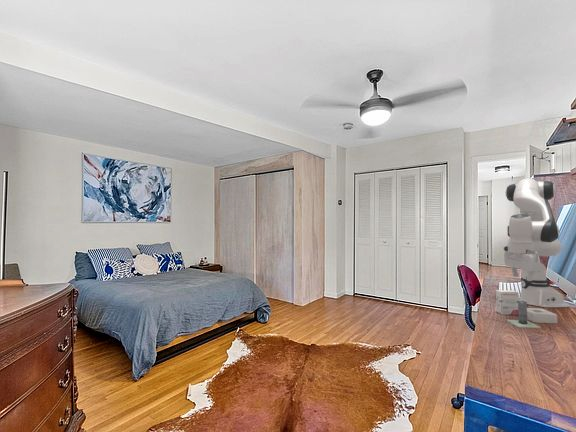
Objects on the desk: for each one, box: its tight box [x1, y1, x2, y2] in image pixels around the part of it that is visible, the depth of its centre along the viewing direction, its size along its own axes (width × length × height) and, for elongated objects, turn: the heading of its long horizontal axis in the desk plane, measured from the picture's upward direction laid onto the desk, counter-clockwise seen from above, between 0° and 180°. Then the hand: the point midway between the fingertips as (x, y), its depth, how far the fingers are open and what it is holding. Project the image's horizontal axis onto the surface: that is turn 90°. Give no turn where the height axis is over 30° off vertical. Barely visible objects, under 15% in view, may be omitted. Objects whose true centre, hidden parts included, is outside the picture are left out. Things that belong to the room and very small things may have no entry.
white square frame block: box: [527, 307, 558, 324], centre depth 142 cm, size 10×10×4 cm
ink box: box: [495, 289, 519, 316], centre depth 151 cm, size 9×5×12 cm, turn 84°
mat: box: [506, 319, 542, 330], centre depth 135 cm, size 9×9×1 cm
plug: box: [517, 301, 528, 325], centre depth 135 cm, size 3×3×10 cm
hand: (522, 278), depth 135 cm, fingers open, 8 cm apart
